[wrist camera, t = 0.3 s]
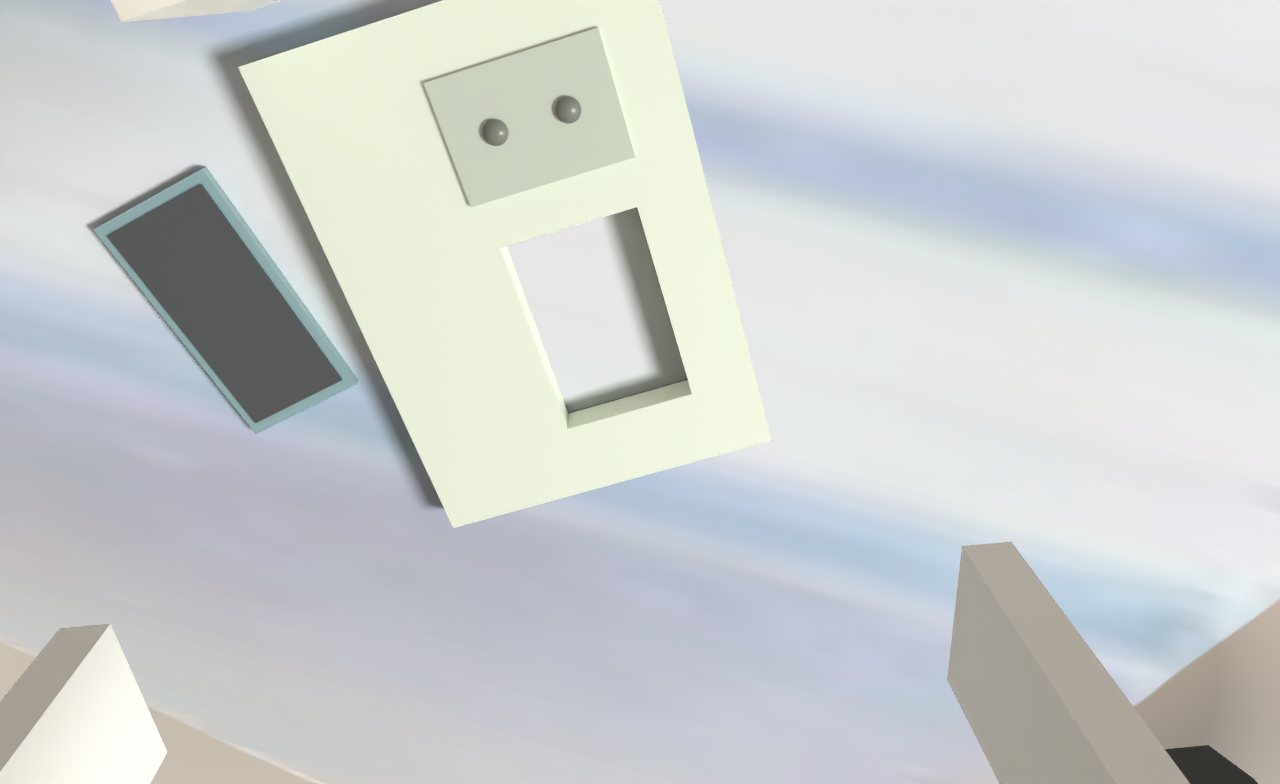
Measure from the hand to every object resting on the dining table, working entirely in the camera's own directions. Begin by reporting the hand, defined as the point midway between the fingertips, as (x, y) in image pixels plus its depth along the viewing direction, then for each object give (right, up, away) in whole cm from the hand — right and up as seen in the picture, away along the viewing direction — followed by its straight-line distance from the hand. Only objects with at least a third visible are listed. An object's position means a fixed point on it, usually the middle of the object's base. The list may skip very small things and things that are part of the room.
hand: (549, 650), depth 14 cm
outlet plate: (-3, +10, +24) cm, 27 cm away
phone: (-17, +8, +25) cm, 31 cm away
